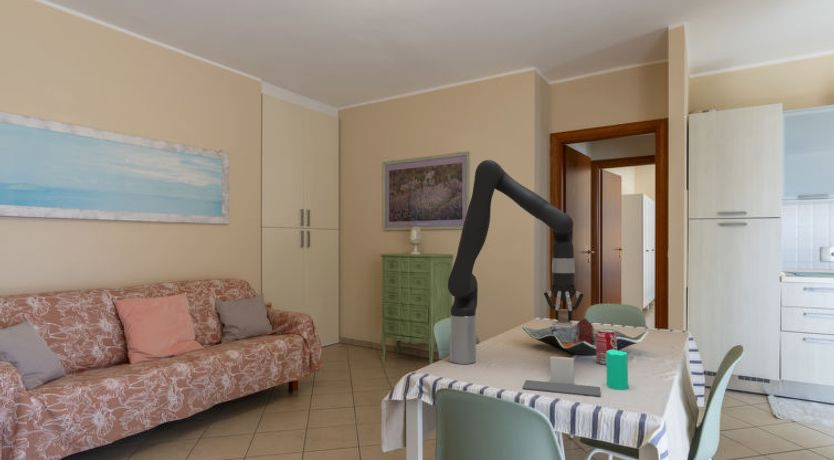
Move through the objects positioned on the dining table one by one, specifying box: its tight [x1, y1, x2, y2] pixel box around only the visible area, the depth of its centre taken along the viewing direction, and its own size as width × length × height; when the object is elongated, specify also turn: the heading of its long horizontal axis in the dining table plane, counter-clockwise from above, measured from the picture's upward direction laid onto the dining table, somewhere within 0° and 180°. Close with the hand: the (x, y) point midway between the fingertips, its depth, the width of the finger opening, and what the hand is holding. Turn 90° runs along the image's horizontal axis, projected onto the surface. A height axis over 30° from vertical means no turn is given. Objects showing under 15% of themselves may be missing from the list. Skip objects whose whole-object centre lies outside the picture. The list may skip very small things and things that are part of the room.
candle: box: [605, 346, 629, 391], centre depth 143 cm, size 6×6×12 cm
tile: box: [549, 356, 575, 385], centre depth 147 cm, size 7×2×8 cm, turn 70°
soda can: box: [595, 328, 618, 366], centre depth 170 cm, size 7×7×12 cm
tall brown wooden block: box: [551, 308, 573, 327], centre depth 161 cm, size 19×6×4 cm, turn 160°
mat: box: [522, 379, 602, 398], centre depth 141 cm, size 22×8×1 cm, turn 70°
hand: (564, 321), depth 162 cm, fingers closed on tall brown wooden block, 2 cm apart
